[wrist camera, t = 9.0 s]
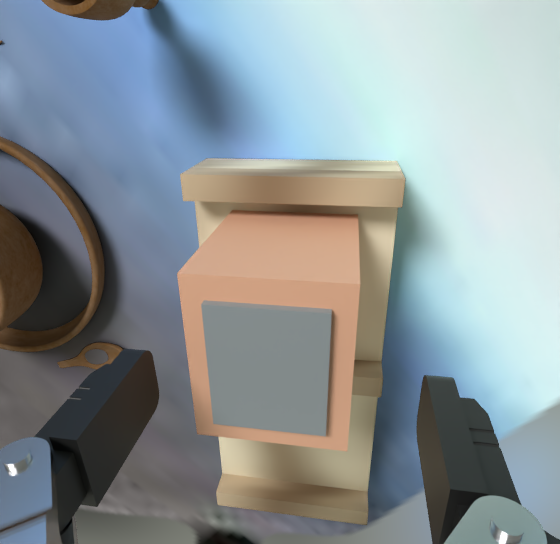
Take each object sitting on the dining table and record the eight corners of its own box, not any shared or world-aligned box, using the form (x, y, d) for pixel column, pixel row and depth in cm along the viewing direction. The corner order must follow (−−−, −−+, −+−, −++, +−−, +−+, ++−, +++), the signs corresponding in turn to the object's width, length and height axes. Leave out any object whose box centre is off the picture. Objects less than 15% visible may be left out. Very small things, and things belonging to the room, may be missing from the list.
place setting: (-181, 109, 21) (-357, 121, 16) (163, -78, 16) (67, -154, 10) (13, 384, 27) (-68, 458, 22) (308, 319, 22) (294, 397, 17)
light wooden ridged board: (396, 160, 17) (405, 178, 14) (365, 473, 25) (366, 525, 22) (207, 158, 18) (180, 174, 16) (232, 457, 26) (217, 504, 23)
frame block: (358, 214, 16) (360, 288, 11) (349, 344, 19) (347, 457, 13) (232, 209, 17) (173, 277, 12) (239, 335, 20) (194, 439, 14)
